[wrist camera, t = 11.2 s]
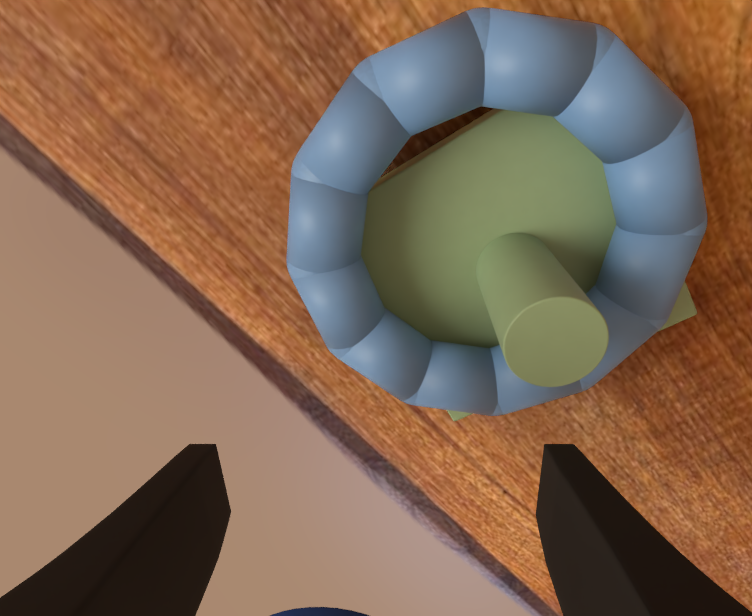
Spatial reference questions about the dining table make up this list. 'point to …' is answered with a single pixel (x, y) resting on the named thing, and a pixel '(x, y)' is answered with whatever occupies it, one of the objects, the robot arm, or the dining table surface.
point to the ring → (515, 93)
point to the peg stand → (500, 245)
